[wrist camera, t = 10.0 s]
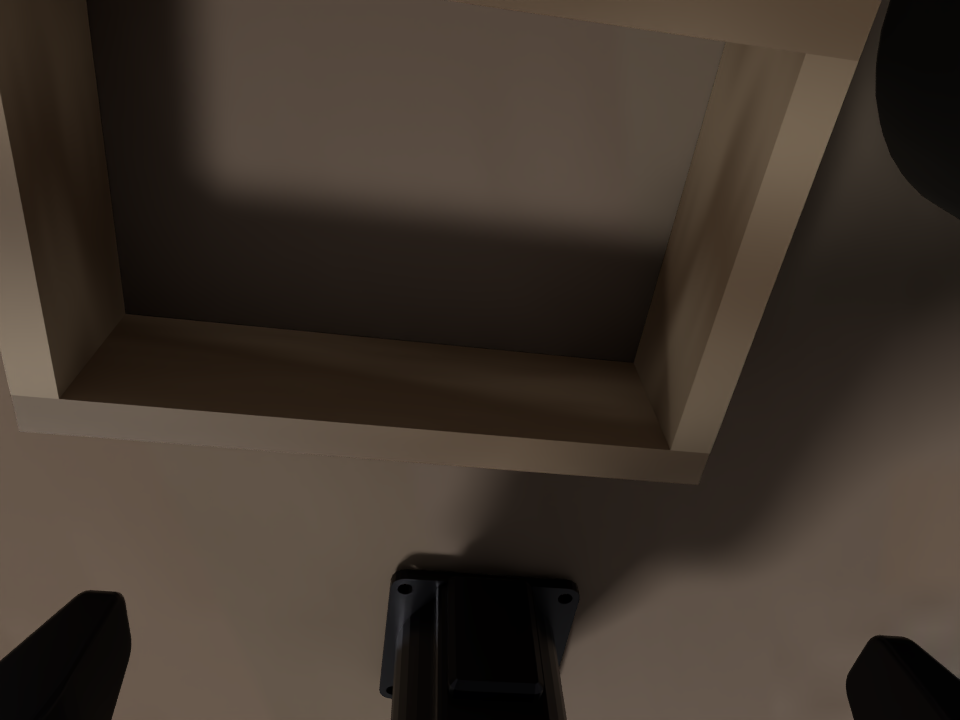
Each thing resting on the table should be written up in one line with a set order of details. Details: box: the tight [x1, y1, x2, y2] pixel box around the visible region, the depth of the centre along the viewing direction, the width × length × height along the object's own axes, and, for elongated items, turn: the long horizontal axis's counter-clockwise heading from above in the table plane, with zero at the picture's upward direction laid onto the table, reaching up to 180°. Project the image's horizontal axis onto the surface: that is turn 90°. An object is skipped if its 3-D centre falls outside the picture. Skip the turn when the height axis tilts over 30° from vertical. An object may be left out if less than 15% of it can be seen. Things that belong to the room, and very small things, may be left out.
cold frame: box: [0, 0, 882, 485], centre depth 16 cm, size 11×16×4 cm
